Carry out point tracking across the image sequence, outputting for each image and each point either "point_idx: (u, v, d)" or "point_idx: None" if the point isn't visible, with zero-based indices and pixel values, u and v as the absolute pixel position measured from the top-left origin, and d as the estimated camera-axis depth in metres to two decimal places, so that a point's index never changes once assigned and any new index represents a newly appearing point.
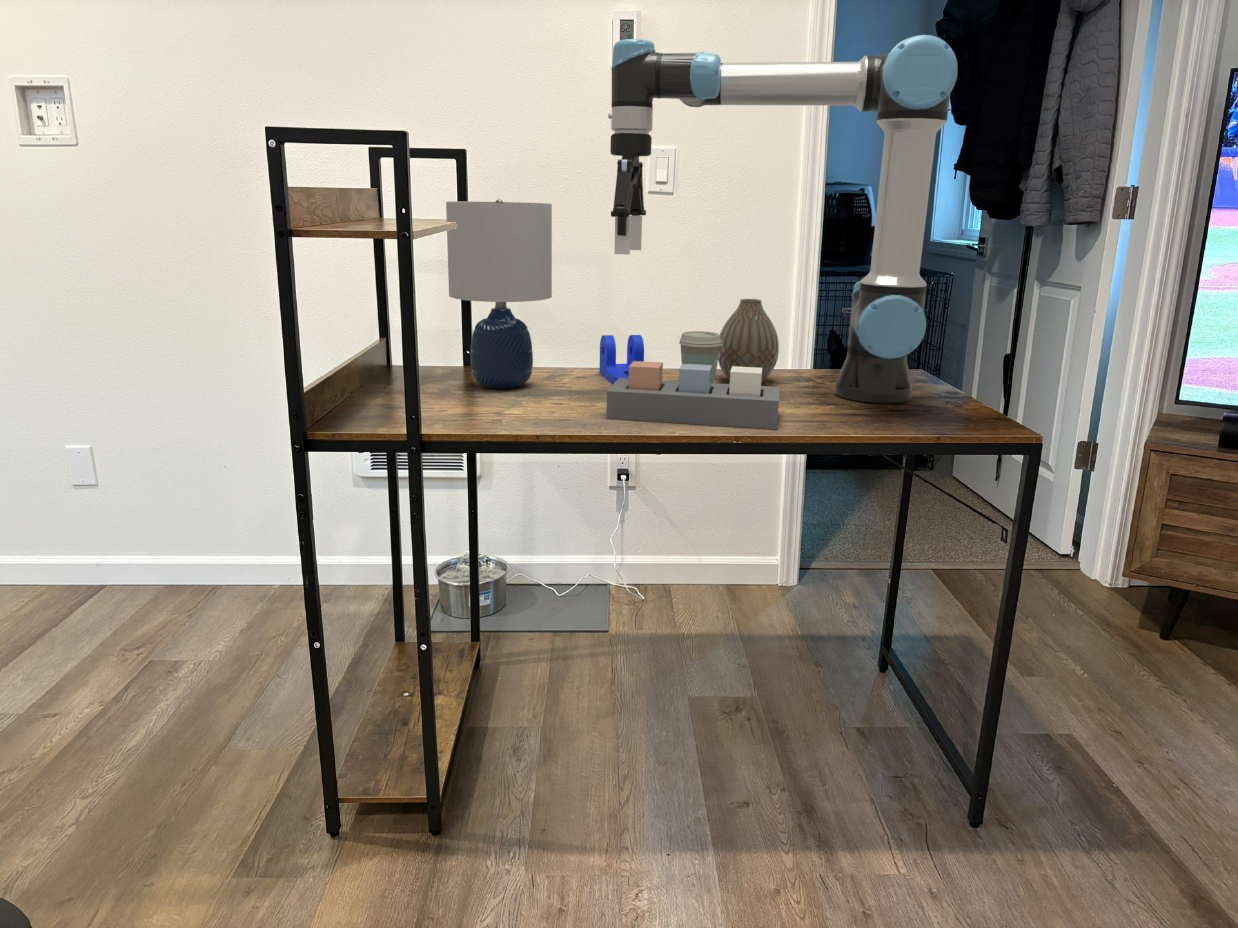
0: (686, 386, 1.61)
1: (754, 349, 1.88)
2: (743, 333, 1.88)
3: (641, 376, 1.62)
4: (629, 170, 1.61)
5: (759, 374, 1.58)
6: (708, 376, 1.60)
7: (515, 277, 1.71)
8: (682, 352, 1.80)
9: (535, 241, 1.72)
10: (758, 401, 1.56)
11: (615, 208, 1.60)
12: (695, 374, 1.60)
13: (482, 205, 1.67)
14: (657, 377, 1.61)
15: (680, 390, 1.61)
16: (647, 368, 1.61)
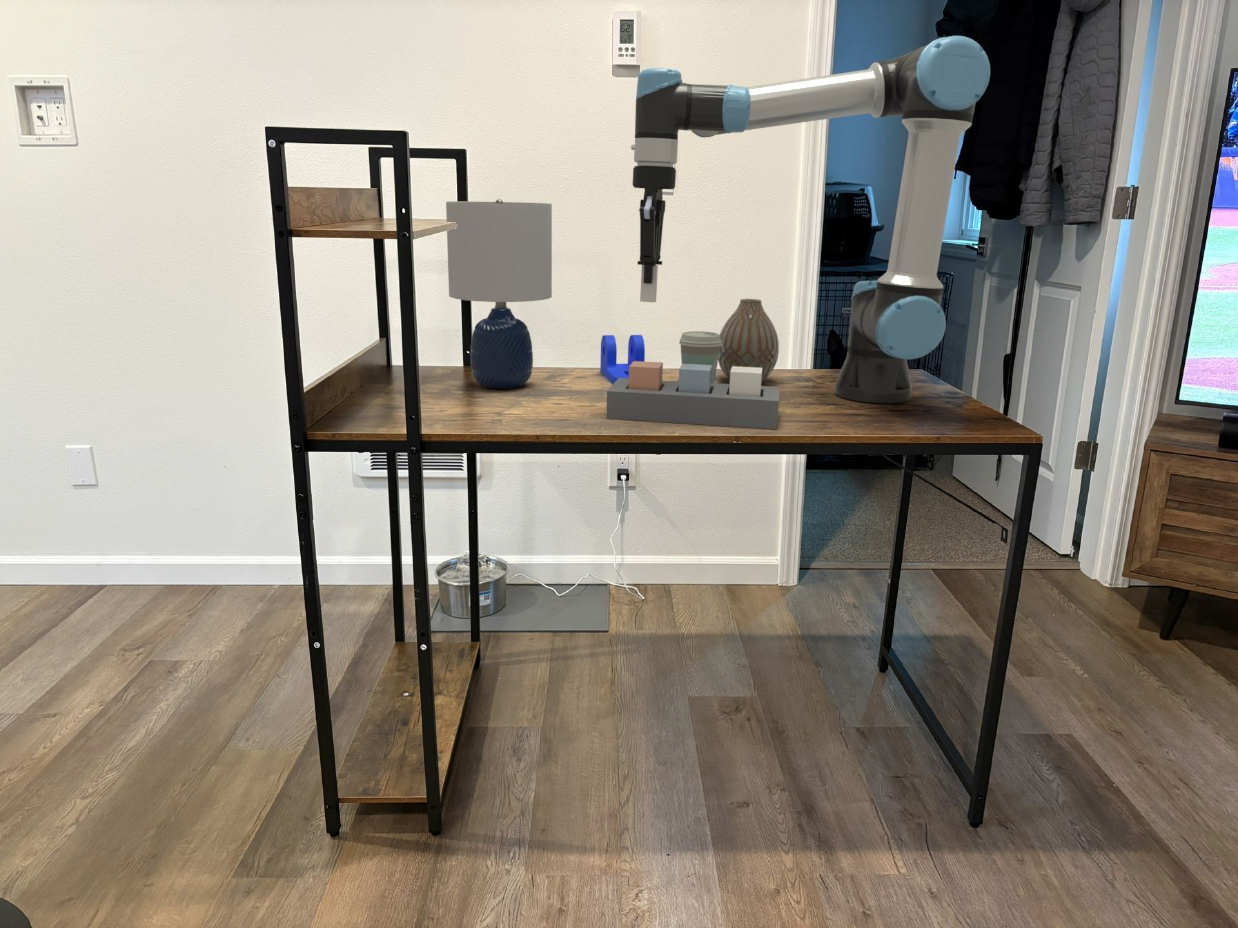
0: (686, 386, 1.61)
1: (754, 349, 1.88)
2: (743, 333, 1.88)
3: (641, 376, 1.62)
4: (652, 219, 1.56)
5: (759, 374, 1.58)
6: (708, 376, 1.60)
7: (515, 277, 1.71)
8: (682, 352, 1.80)
9: (536, 241, 1.72)
10: (758, 401, 1.56)
11: (642, 259, 1.60)
12: (695, 374, 1.60)
13: (482, 205, 1.67)
14: (657, 377, 1.61)
15: (680, 390, 1.61)
16: (647, 368, 1.61)
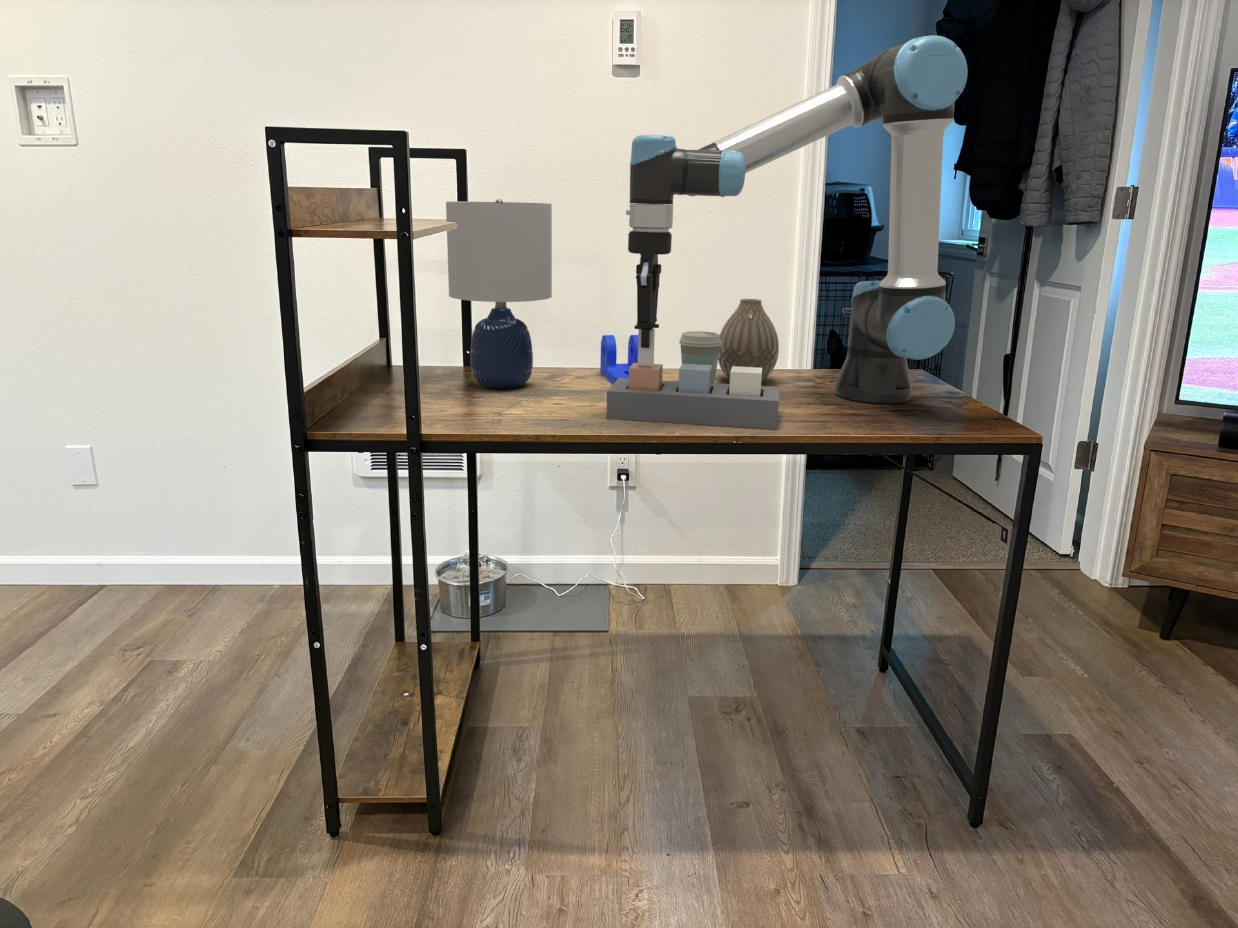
0: (686, 386, 1.61)
1: (754, 349, 1.88)
2: (743, 333, 1.88)
3: (641, 378, 1.62)
4: (649, 285, 1.54)
5: (759, 374, 1.58)
6: (708, 376, 1.60)
7: (515, 277, 1.71)
8: (682, 352, 1.80)
9: (535, 240, 1.72)
10: (758, 401, 1.56)
11: (639, 324, 1.58)
12: (695, 374, 1.60)
13: (482, 205, 1.67)
14: (657, 379, 1.61)
15: (680, 390, 1.61)
16: (647, 370, 1.61)
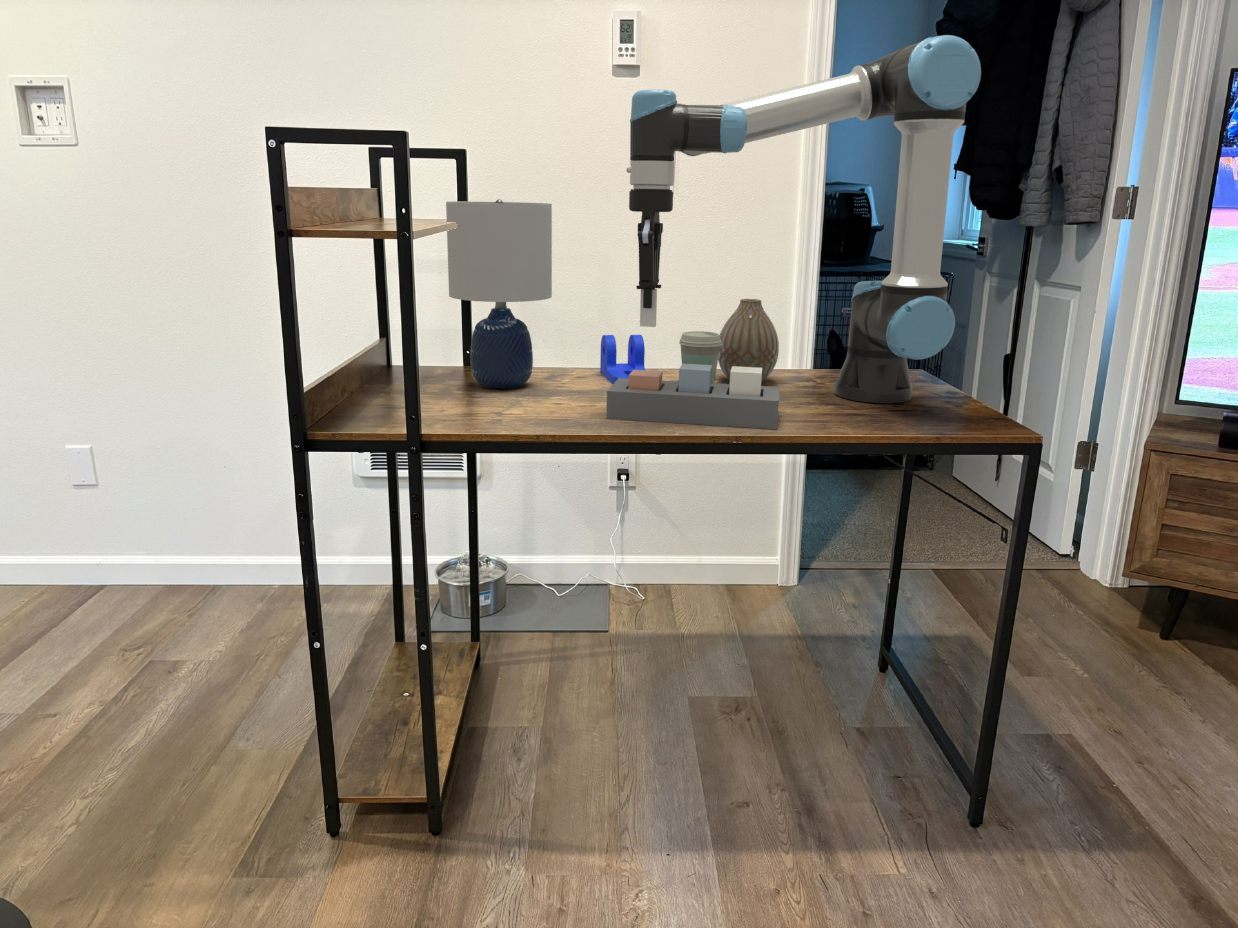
0: (686, 386, 1.61)
1: (754, 349, 1.88)
2: (743, 333, 1.88)
3: (640, 384, 1.62)
4: (651, 243, 1.52)
5: (759, 374, 1.58)
6: (708, 376, 1.60)
7: (515, 277, 1.71)
8: (682, 352, 1.80)
9: (535, 241, 1.72)
10: (758, 401, 1.56)
11: (641, 284, 1.56)
12: (695, 374, 1.60)
13: (482, 205, 1.67)
14: (657, 386, 1.62)
15: (680, 390, 1.61)
16: (647, 377, 1.62)
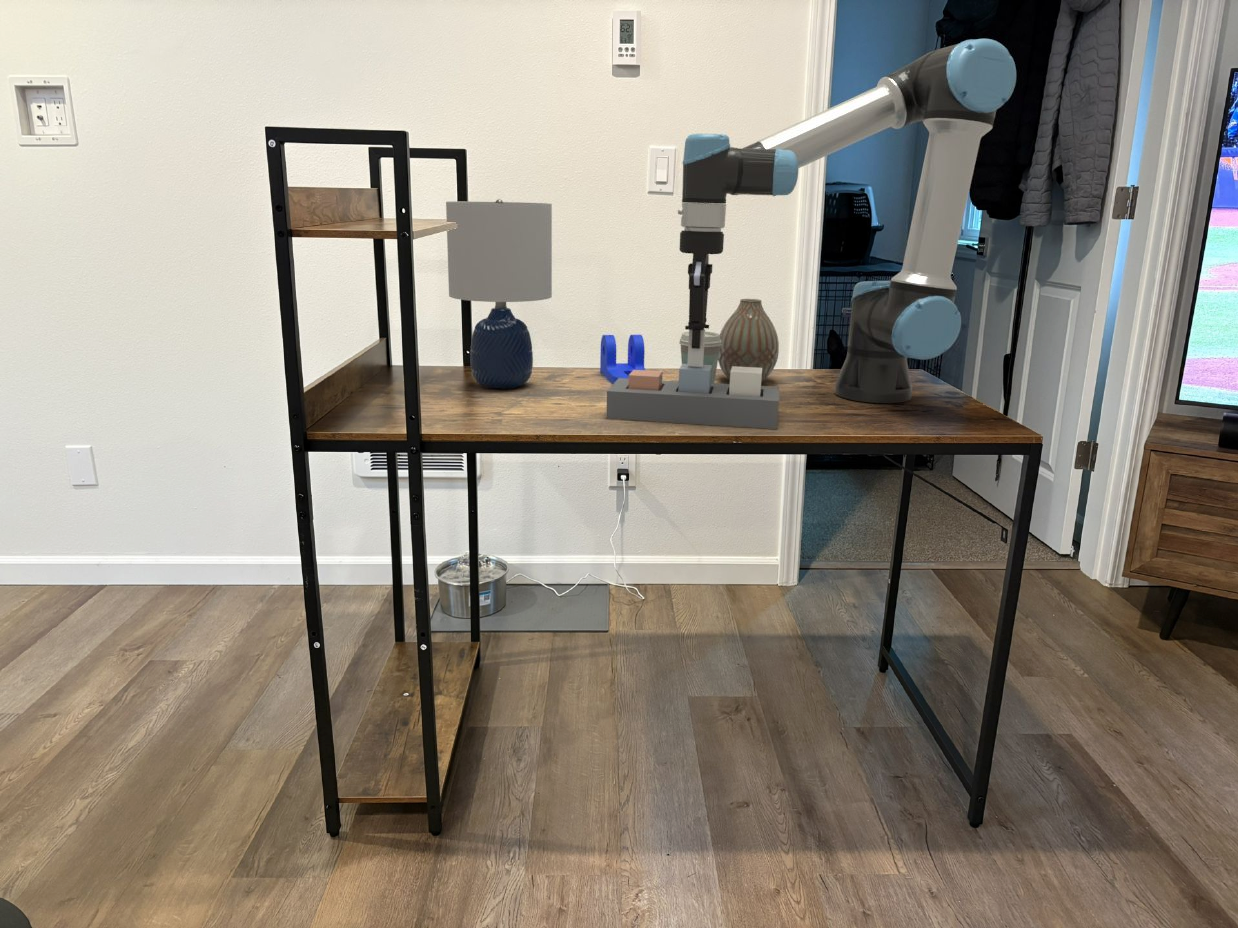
0: (686, 386, 1.61)
1: (754, 349, 1.88)
2: (743, 333, 1.88)
3: (640, 384, 1.62)
4: (702, 285, 1.53)
5: (759, 374, 1.58)
6: (708, 376, 1.60)
7: (515, 277, 1.71)
8: (682, 352, 1.80)
9: (535, 240, 1.72)
10: (758, 401, 1.56)
11: (690, 325, 1.57)
12: (695, 374, 1.60)
13: (482, 205, 1.67)
14: (657, 386, 1.62)
15: (680, 390, 1.61)
16: (647, 377, 1.62)
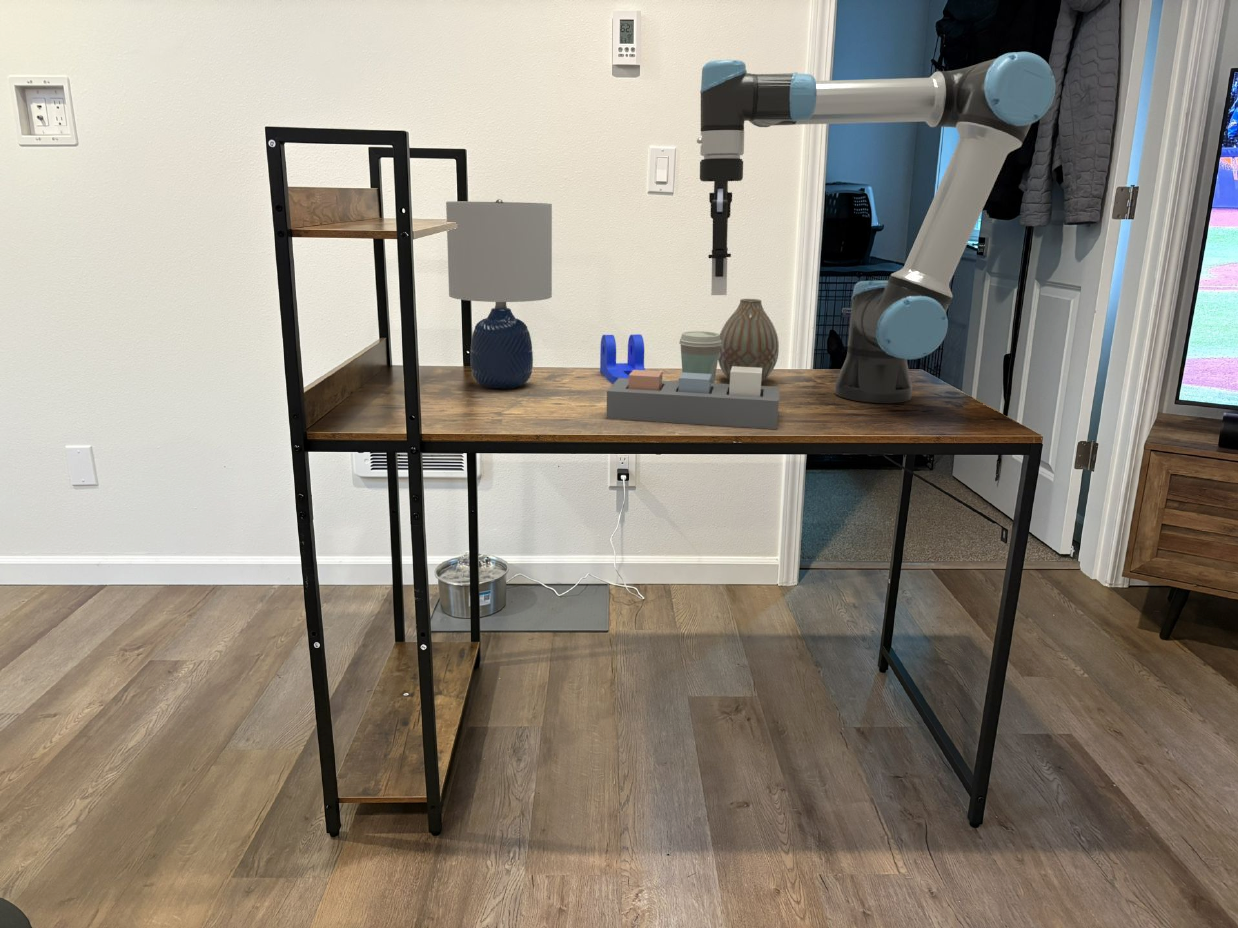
0: None
1: (754, 349, 1.88)
2: (743, 333, 1.88)
3: (640, 384, 1.62)
4: (725, 211, 1.55)
5: (759, 374, 1.58)
6: (708, 385, 1.60)
7: (515, 277, 1.71)
8: (682, 352, 1.80)
9: (536, 241, 1.72)
10: (758, 401, 1.56)
11: (714, 252, 1.59)
12: (694, 383, 1.60)
13: (482, 205, 1.67)
14: (657, 386, 1.62)
15: None
16: (647, 377, 1.62)
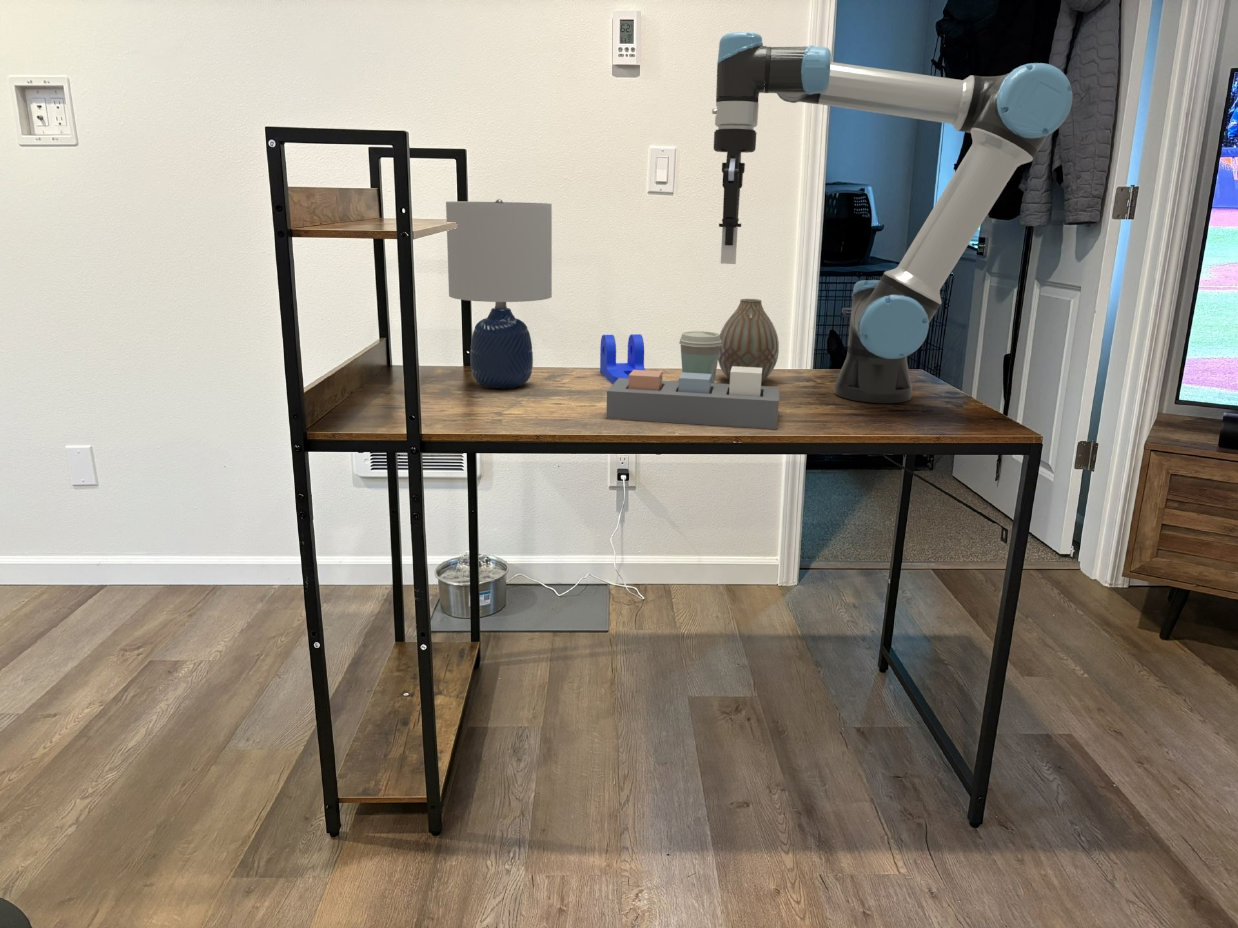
0: None
1: (754, 349, 1.88)
2: (743, 333, 1.88)
3: (640, 384, 1.62)
4: (736, 180, 1.59)
5: (759, 374, 1.58)
6: (708, 385, 1.60)
7: (515, 277, 1.71)
8: (682, 352, 1.80)
9: (535, 240, 1.72)
10: (758, 401, 1.56)
11: (724, 221, 1.63)
12: (694, 383, 1.60)
13: (482, 205, 1.67)
14: (657, 386, 1.62)
15: None
16: (647, 377, 1.62)
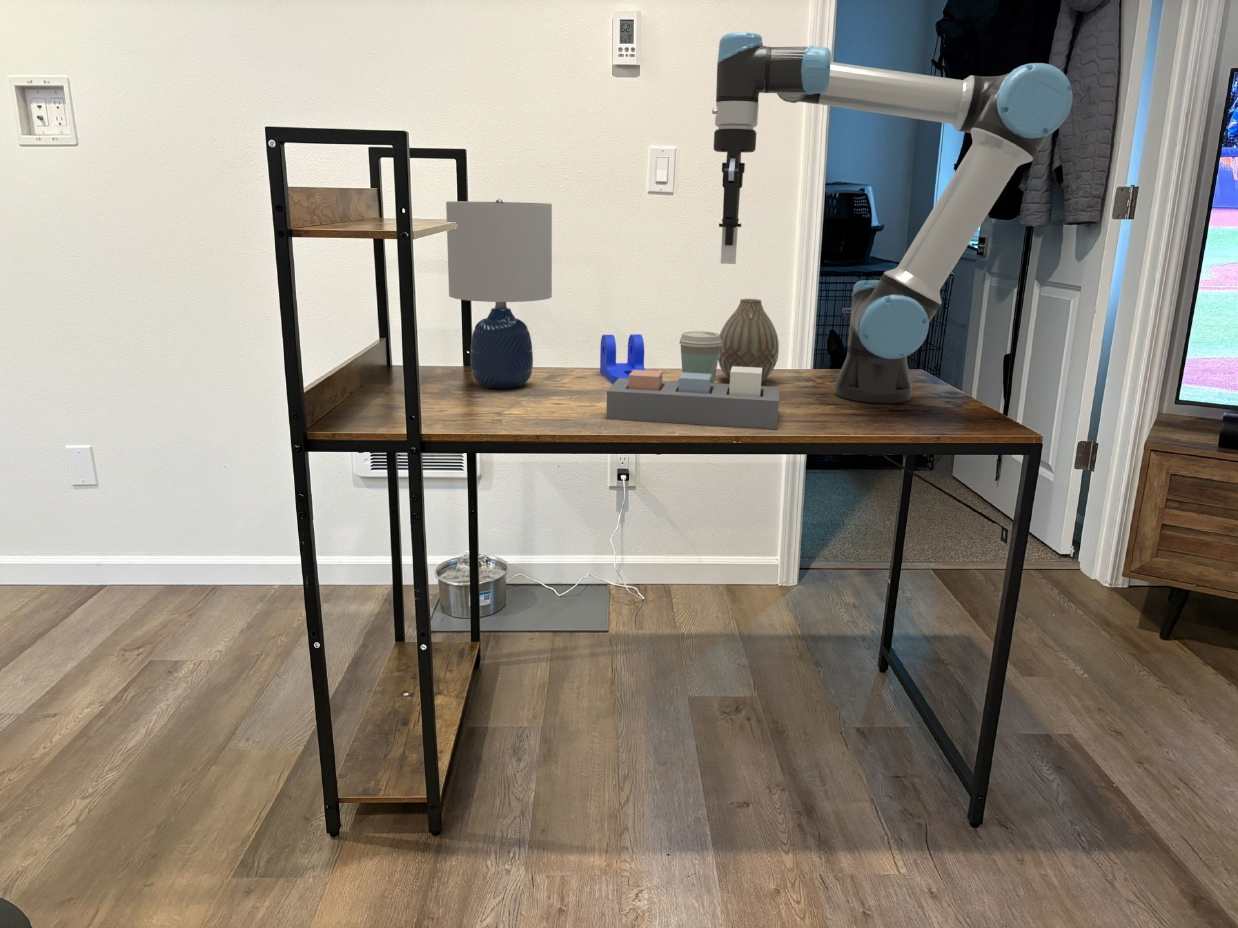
0: None
1: (754, 349, 1.88)
2: (743, 333, 1.88)
3: (640, 384, 1.62)
4: (736, 180, 1.59)
5: (759, 374, 1.58)
6: (708, 385, 1.60)
7: (515, 277, 1.71)
8: (682, 352, 1.80)
9: (536, 241, 1.72)
10: (758, 401, 1.56)
11: (724, 221, 1.63)
12: (694, 383, 1.60)
13: (482, 205, 1.67)
14: (657, 386, 1.62)
15: None
16: (647, 377, 1.62)
